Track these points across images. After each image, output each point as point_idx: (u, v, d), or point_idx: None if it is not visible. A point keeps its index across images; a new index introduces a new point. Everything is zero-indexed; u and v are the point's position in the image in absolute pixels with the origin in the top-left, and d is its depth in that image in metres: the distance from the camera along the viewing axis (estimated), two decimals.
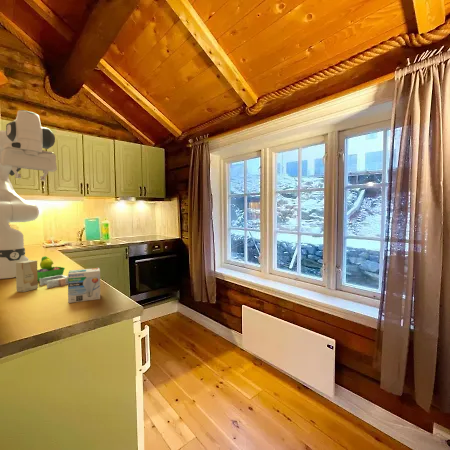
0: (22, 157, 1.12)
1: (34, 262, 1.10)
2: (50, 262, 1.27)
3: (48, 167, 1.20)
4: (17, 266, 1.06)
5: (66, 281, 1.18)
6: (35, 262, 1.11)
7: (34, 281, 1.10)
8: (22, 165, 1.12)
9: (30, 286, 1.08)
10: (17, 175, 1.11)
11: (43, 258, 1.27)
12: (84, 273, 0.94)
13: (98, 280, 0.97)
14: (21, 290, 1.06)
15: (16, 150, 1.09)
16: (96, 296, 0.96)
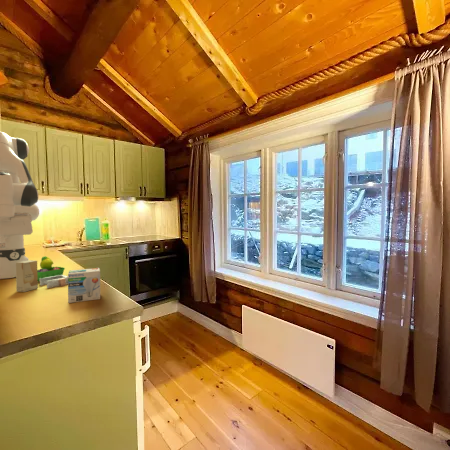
0: None
1: (34, 262, 1.10)
2: (50, 262, 1.27)
3: (22, 231, 1.06)
4: (17, 266, 1.06)
5: (66, 281, 1.18)
6: (35, 262, 1.11)
7: (34, 281, 1.10)
8: None
9: (30, 286, 1.08)
10: None
11: (43, 258, 1.27)
12: (84, 273, 0.94)
13: (98, 280, 0.97)
14: (21, 290, 1.06)
15: None
16: (96, 296, 0.96)
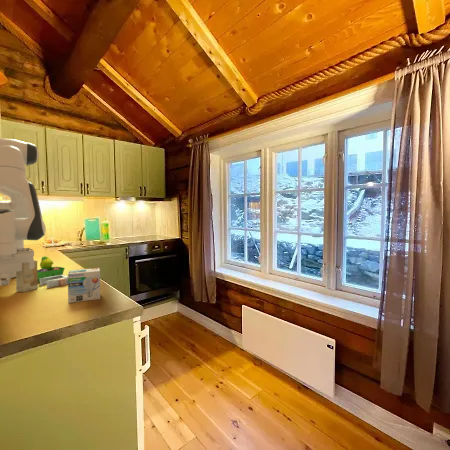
0: None
1: (34, 262, 1.10)
2: (50, 262, 1.27)
3: None
4: None
5: (66, 281, 1.18)
6: (35, 262, 1.11)
7: (34, 281, 1.10)
8: None
9: (30, 286, 1.08)
10: (1, 283, 1.01)
11: (43, 258, 1.27)
12: (84, 273, 0.94)
13: (98, 280, 0.97)
14: (21, 290, 1.06)
15: None
16: (96, 296, 0.96)
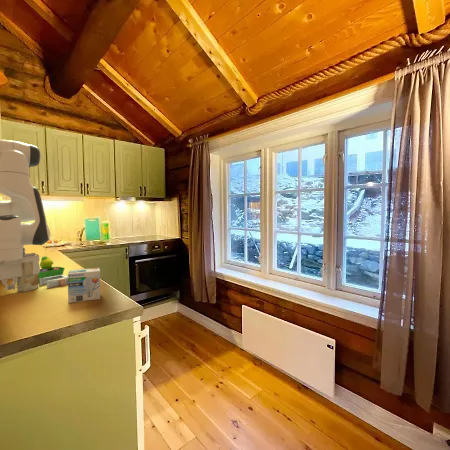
0: None
1: None
2: (50, 262, 1.27)
3: None
4: None
5: (66, 281, 1.18)
6: None
7: (35, 281, 1.10)
8: (0, 278, 1.00)
9: (31, 285, 1.09)
10: (7, 287, 1.03)
11: (43, 258, 1.27)
12: (84, 273, 0.94)
13: (98, 280, 0.97)
14: (22, 290, 1.06)
15: None
16: (96, 296, 0.96)
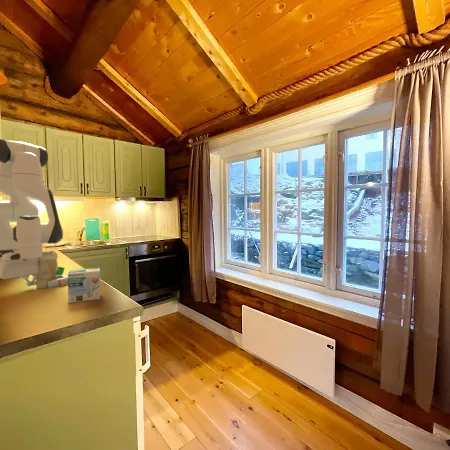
0: (21, 266, 1.06)
1: (52, 260, 1.14)
2: None
3: None
4: None
5: (66, 281, 1.18)
6: (53, 260, 1.14)
7: (52, 279, 1.14)
8: (22, 275, 1.06)
9: None
10: (29, 283, 1.09)
11: None
12: (84, 273, 0.94)
13: (98, 280, 0.97)
14: (38, 286, 1.11)
15: (15, 262, 1.04)
16: (96, 296, 0.96)
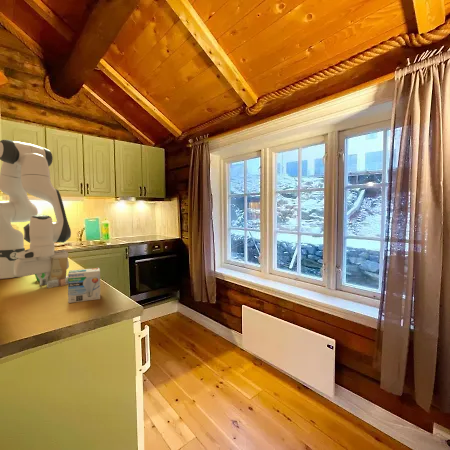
0: (35, 264, 1.10)
1: (64, 259, 1.18)
2: None
3: None
4: None
5: (66, 281, 1.18)
6: (65, 259, 1.18)
7: (62, 276, 1.17)
8: (35, 272, 1.10)
9: None
10: (41, 281, 1.13)
11: None
12: (84, 273, 0.94)
13: (98, 280, 0.97)
14: None
15: (29, 260, 1.07)
16: (96, 296, 0.96)
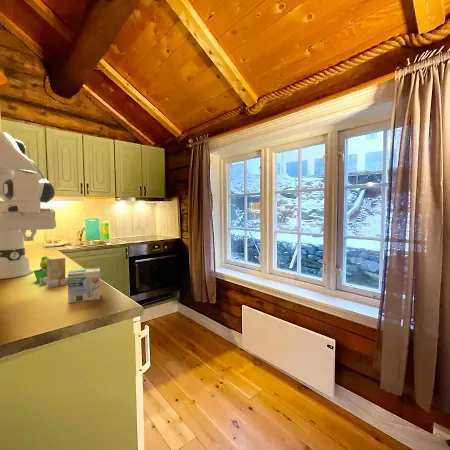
0: (19, 219, 1.05)
1: (62, 259, 1.17)
2: None
3: (47, 226, 1.13)
4: (47, 262, 1.16)
5: (66, 281, 1.18)
6: (63, 259, 1.18)
7: (61, 277, 1.17)
8: (19, 228, 1.05)
9: None
10: (26, 238, 1.08)
11: (43, 258, 1.27)
12: (84, 273, 0.94)
13: (98, 280, 0.97)
14: None
15: (13, 214, 1.03)
16: (96, 296, 0.96)
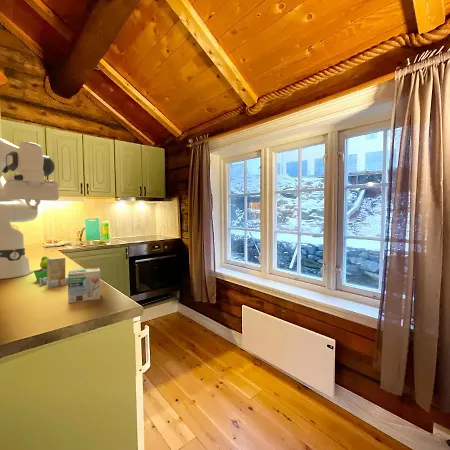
0: (24, 188, 1.11)
1: (62, 259, 1.17)
2: None
3: (50, 196, 1.19)
4: (47, 262, 1.16)
5: (66, 281, 1.18)
6: (63, 259, 1.18)
7: (61, 277, 1.17)
8: (24, 197, 1.11)
9: None
10: (30, 207, 1.14)
11: (43, 258, 1.27)
12: (84, 273, 0.94)
13: (98, 280, 0.97)
14: None
15: (18, 182, 1.09)
16: (96, 296, 0.96)
